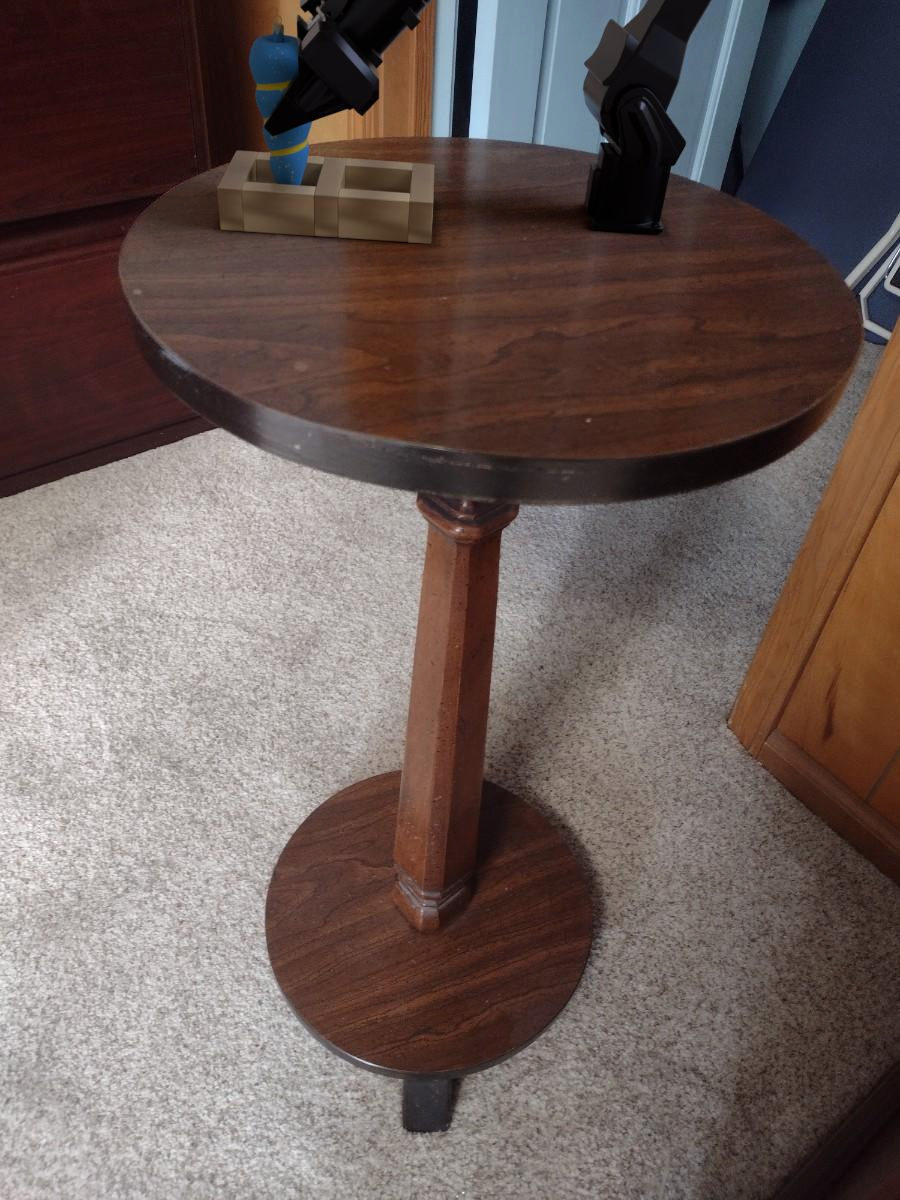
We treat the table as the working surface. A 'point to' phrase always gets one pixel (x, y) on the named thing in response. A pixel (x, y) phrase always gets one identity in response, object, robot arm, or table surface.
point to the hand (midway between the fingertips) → (268, 122)
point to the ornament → (272, 75)
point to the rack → (330, 199)
